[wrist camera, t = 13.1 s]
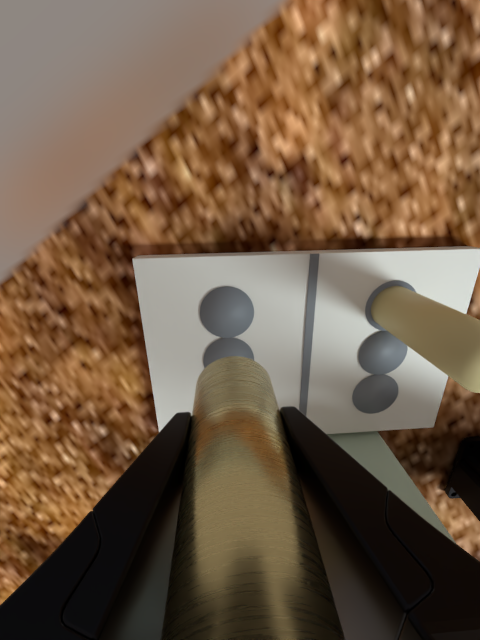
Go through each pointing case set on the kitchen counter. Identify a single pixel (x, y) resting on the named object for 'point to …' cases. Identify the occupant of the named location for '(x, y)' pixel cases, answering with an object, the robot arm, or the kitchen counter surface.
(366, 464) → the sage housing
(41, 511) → the kitchen counter surface
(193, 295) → the board
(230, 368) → the brass pin
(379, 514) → the robot arm
